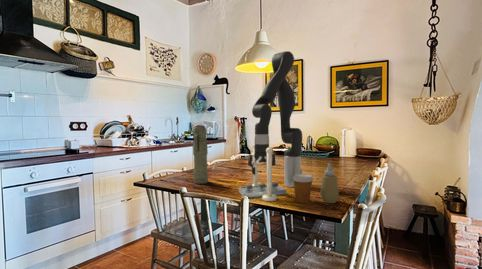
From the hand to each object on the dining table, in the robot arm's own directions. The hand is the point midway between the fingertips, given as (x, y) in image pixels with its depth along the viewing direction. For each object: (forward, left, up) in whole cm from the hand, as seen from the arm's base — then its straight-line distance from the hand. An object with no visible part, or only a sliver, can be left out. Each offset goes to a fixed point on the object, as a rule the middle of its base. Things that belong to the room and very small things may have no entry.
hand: (261, 174), depth 143 cm
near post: (0, +11, -10) cm, 15 cm away
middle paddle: (0, 0, -6) cm, 6 cm away
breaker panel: (0, 0, -10) cm, 10 cm away
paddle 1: (+7, 0, -6) cm, 9 cm away
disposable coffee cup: (-14, +18, -10) cm, 25 cm away
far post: (0, -11, -10) cm, 15 cm away
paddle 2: (-7, 0, -6) cm, 9 cm away
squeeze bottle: (-25, +23, -10) cm, 36 cm away
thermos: (+28, -34, -10) cm, 45 cm away
